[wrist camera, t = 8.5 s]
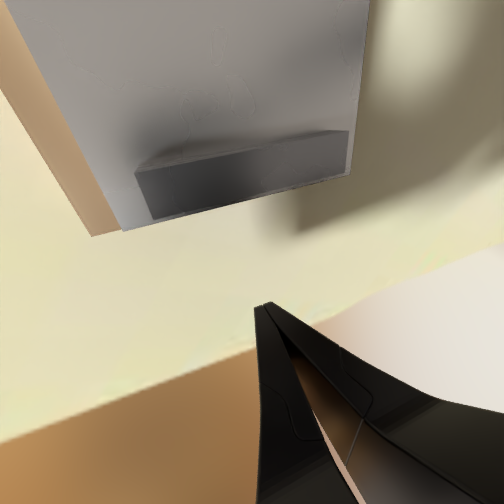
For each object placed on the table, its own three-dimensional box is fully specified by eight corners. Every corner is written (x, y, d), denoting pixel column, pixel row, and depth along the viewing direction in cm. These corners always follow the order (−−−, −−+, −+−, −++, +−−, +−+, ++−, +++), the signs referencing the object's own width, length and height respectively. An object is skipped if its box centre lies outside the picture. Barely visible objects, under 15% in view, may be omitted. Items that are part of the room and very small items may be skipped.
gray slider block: (299, -86, 6) (452, -323, 3) (300, 161, 9) (369, 179, 6) (2, -105, 4) (-390, -669, 1) (135, 198, 8) (117, 246, 5)
